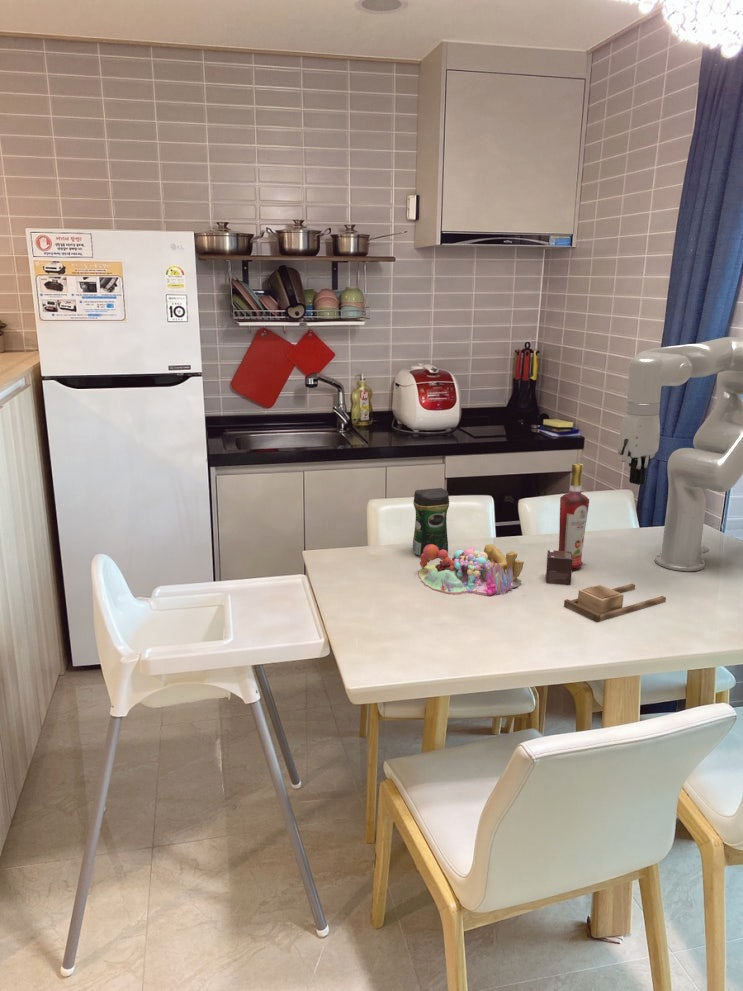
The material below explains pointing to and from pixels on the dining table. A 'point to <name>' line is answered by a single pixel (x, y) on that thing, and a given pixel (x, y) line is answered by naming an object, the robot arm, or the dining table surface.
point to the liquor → (573, 518)
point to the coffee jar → (430, 519)
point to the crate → (600, 599)
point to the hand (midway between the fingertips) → (636, 483)
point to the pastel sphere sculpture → (470, 571)
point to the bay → (597, 617)
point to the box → (559, 567)
